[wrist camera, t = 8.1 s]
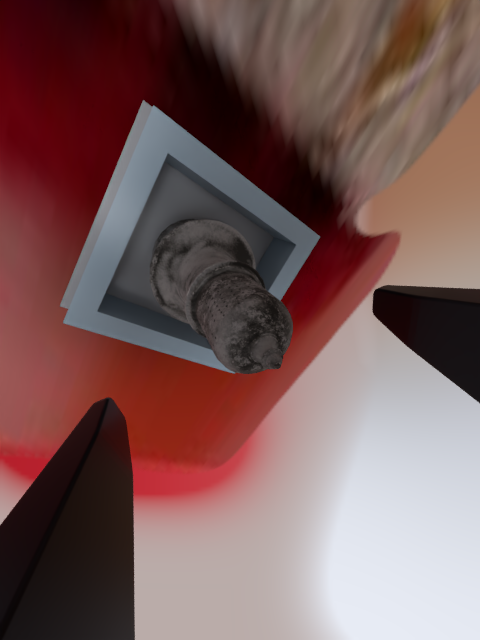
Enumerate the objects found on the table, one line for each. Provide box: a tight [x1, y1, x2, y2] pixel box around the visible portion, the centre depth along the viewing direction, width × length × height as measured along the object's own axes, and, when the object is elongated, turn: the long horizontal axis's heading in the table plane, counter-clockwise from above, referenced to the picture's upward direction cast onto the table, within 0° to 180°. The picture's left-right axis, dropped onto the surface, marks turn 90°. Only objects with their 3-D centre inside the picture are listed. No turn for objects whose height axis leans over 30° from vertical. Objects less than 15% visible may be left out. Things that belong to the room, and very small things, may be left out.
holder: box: [60, 100, 320, 374], centre depth 16 cm, size 12×12×4 cm
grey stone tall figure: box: [150, 219, 293, 374], centre depth 12 cm, size 6×6×12 cm
